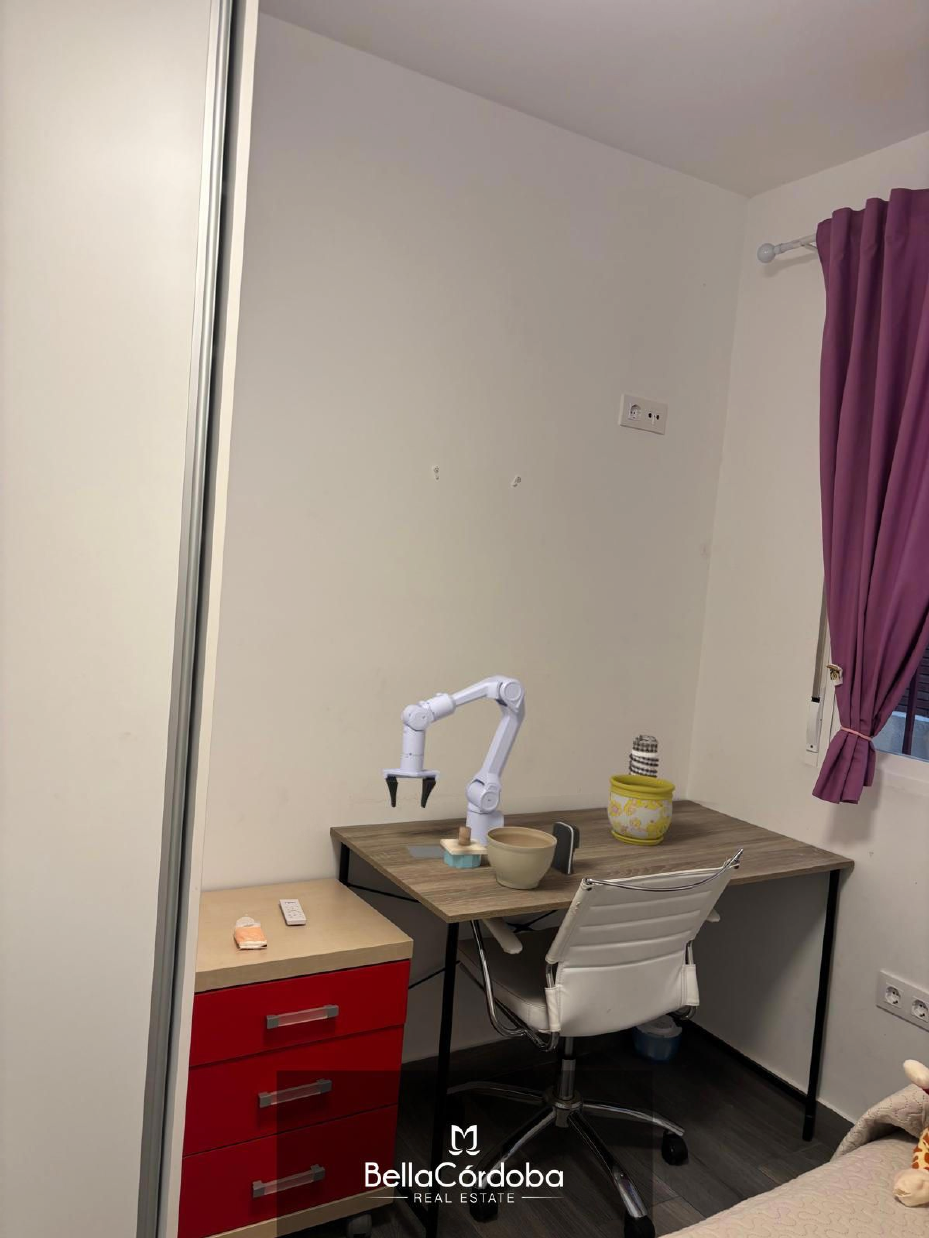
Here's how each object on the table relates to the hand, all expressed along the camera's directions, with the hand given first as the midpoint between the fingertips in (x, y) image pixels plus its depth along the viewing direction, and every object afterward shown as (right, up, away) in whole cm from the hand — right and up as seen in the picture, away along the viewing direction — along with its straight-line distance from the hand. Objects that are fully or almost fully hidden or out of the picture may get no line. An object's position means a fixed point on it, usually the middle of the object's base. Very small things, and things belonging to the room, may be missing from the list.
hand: (408, 806), depth 236 cm
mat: (+5, -11, -5) cm, 13 cm away
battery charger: (+38, -14, -9) cm, 42 cm away
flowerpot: (+62, -15, +26) cm, 69 cm away
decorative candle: (+68, -14, +54) cm, 88 cm away
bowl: (+14, -12, -12) cm, 22 cm away
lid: (+14, -8, -12) cm, 20 cm away
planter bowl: (+26, -13, -22) cm, 37 cm away
